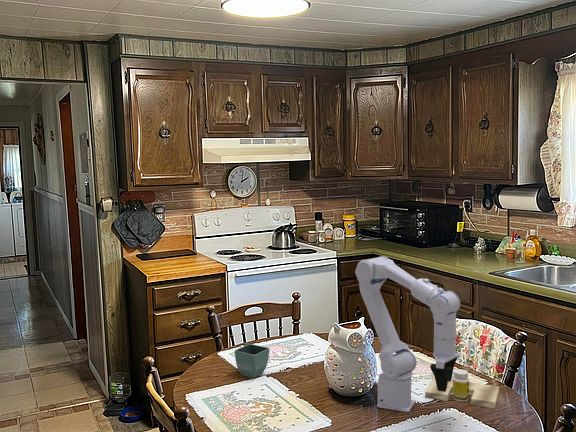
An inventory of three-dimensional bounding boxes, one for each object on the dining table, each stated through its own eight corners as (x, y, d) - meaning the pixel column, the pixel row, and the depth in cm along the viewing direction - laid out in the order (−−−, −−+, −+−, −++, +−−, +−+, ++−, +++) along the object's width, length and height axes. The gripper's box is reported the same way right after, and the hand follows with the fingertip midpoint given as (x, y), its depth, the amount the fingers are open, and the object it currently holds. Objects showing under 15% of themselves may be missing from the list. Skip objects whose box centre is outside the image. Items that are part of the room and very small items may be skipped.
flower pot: (270, 373, 200) (270, 347, 199) (255, 381, 193) (255, 355, 192) (249, 368, 205) (249, 343, 204) (234, 376, 198) (233, 350, 197)
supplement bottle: (469, 402, 174) (470, 375, 174) (453, 401, 175) (453, 374, 175) (468, 396, 179) (468, 369, 178) (451, 395, 180) (452, 368, 179)
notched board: (425, 397, 179) (425, 391, 178) (433, 382, 190) (433, 377, 190) (495, 408, 170) (495, 402, 170) (499, 392, 182) (499, 386, 182)
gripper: (455, 346, 151) (455, 397, 153) (464, 331, 164) (463, 378, 166) (427, 343, 154) (427, 393, 156) (438, 328, 167) (438, 375, 169)
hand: (444, 385), depth 161 cm, fingers open, 7 cm apart
